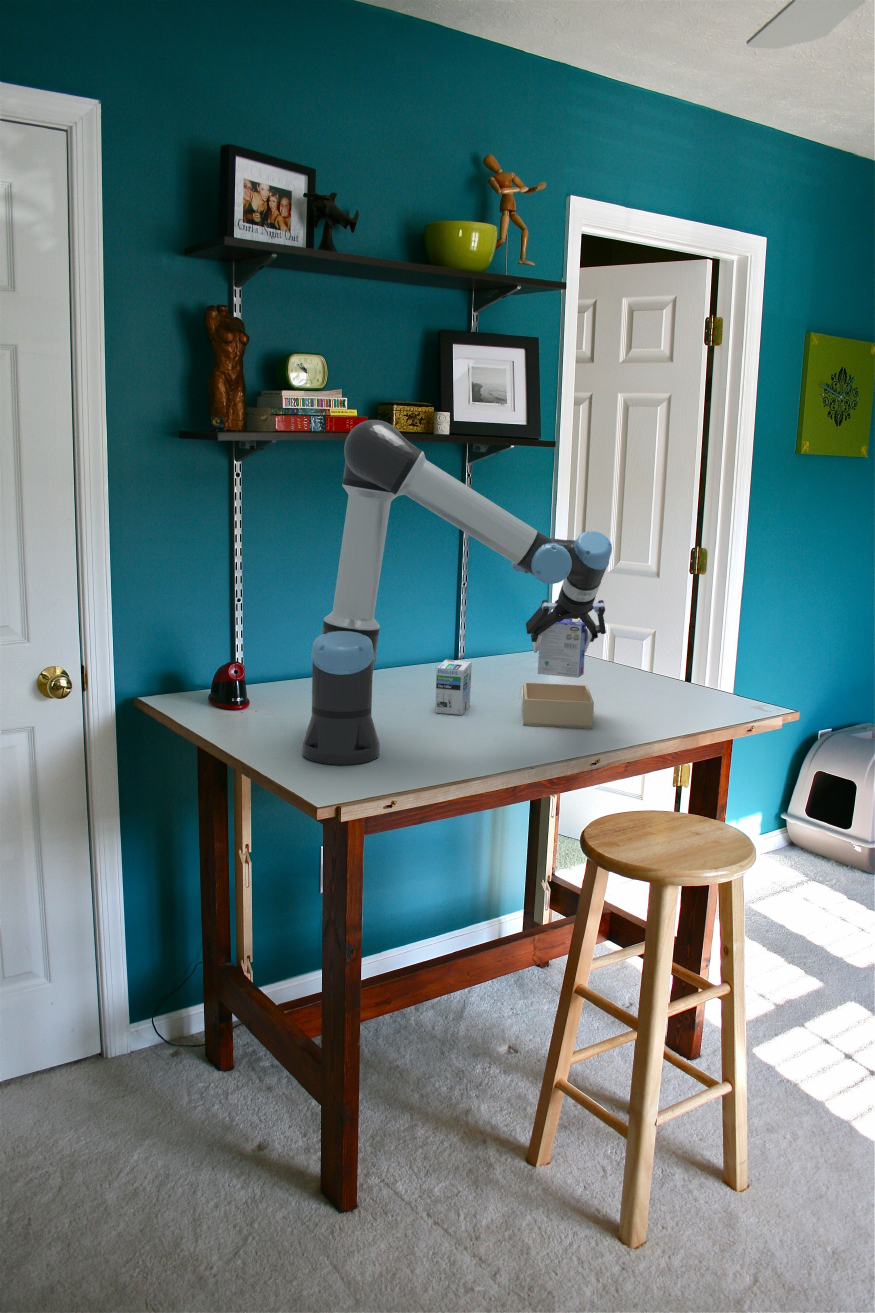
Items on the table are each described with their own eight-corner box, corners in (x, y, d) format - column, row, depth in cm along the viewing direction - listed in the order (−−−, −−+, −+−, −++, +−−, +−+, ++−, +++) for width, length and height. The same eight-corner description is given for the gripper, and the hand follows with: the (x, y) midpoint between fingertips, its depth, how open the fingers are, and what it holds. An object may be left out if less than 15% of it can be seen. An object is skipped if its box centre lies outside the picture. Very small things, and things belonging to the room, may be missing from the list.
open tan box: (523, 725, 221) (524, 699, 220) (520, 685, 259) (521, 663, 258) (592, 729, 220) (593, 702, 219) (579, 688, 258) (580, 666, 257)
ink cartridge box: (584, 674, 228) (588, 611, 225) (580, 678, 223) (583, 615, 220) (542, 670, 231) (545, 608, 228) (537, 674, 226) (539, 611, 223)
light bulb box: (462, 716, 227) (464, 670, 225) (434, 713, 229) (435, 667, 226) (470, 705, 238) (472, 661, 235) (443, 702, 239) (444, 658, 237)
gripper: (527, 603, 207) (511, 661, 225) (635, 604, 209) (610, 661, 228) (523, 574, 211) (507, 634, 229) (629, 576, 213) (605, 634, 232)
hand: (559, 647), depth 228 cm, fingers closed on ink cartridge box, 11 cm apart
